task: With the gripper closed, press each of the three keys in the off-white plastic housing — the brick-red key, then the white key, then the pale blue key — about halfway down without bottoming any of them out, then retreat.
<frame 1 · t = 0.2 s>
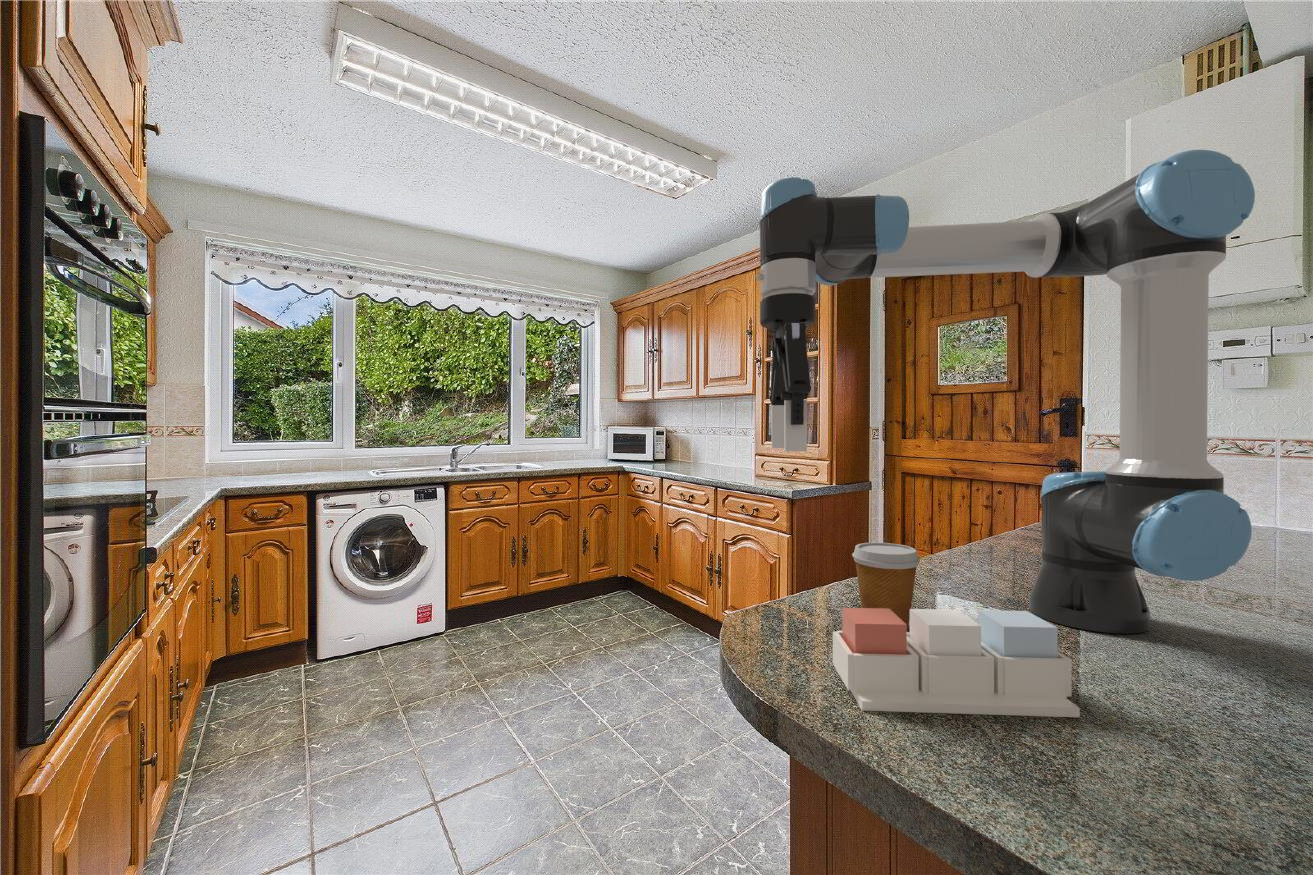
hand: (787, 449, 77), 27 cm above the countertop, fingers open, 13 cm apart
pale blue key: (1015, 635, 63), point 6 cm above the countertop, slide at 0.0 cm
brick-red key: (873, 632, 64), point 6 cm above the countertop, slide at 0.0 cm
disposable coffee cup: (885, 627, 84), on the countertop
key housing: (943, 687, 64), on the countertop
white key: (943, 634, 64), point 6 cm above the countertop, slide at 0.0 cm
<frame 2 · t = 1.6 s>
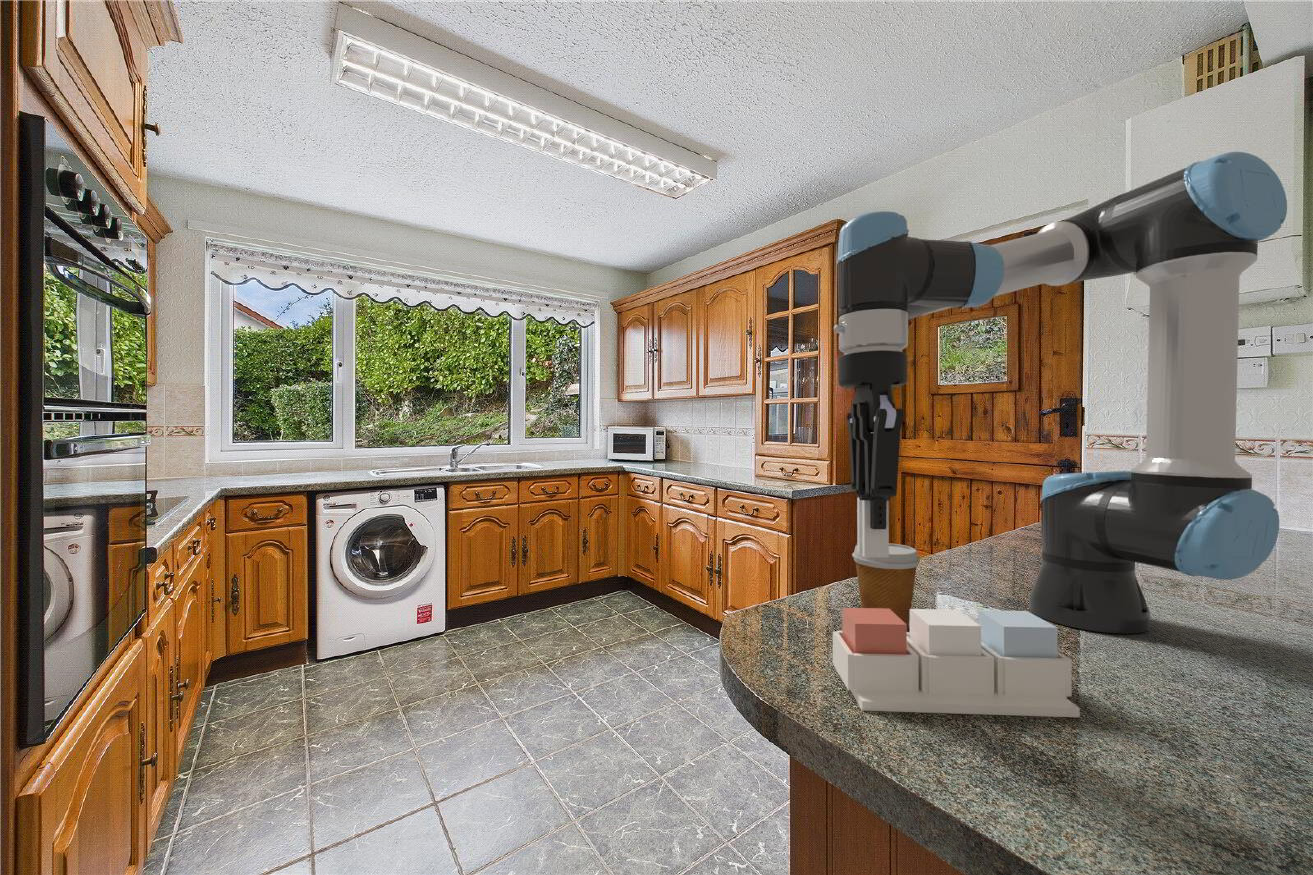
hand: (872, 554, 64), 15 cm above the countertop, fingers closed
nothing on the countertop moved.
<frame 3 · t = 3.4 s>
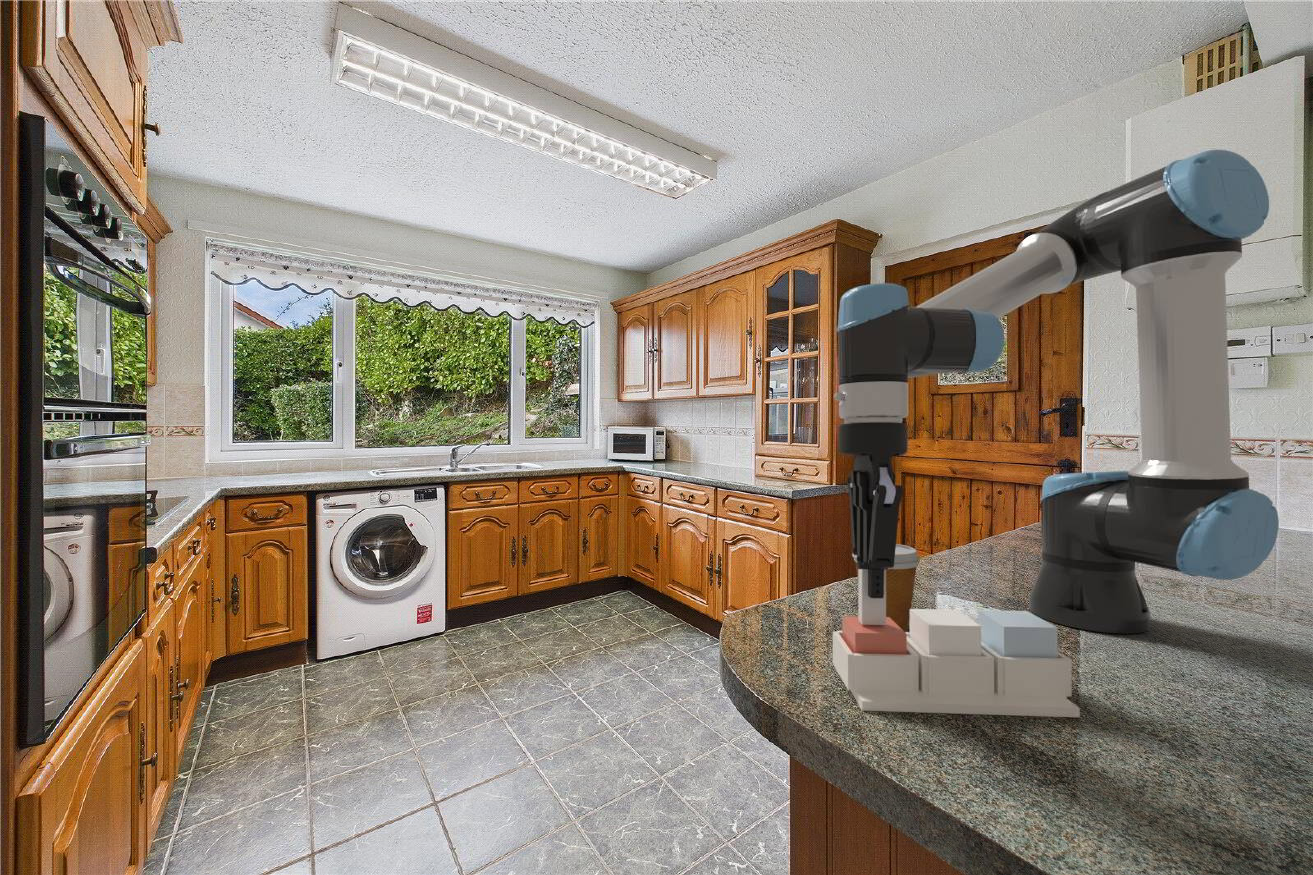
hand: (872, 622, 64), 7 cm above the countertop, fingers closed
brick-red key: (873, 641, 64), point 5 cm above the countertop, slide at 1.0 cm
everything else where it was.
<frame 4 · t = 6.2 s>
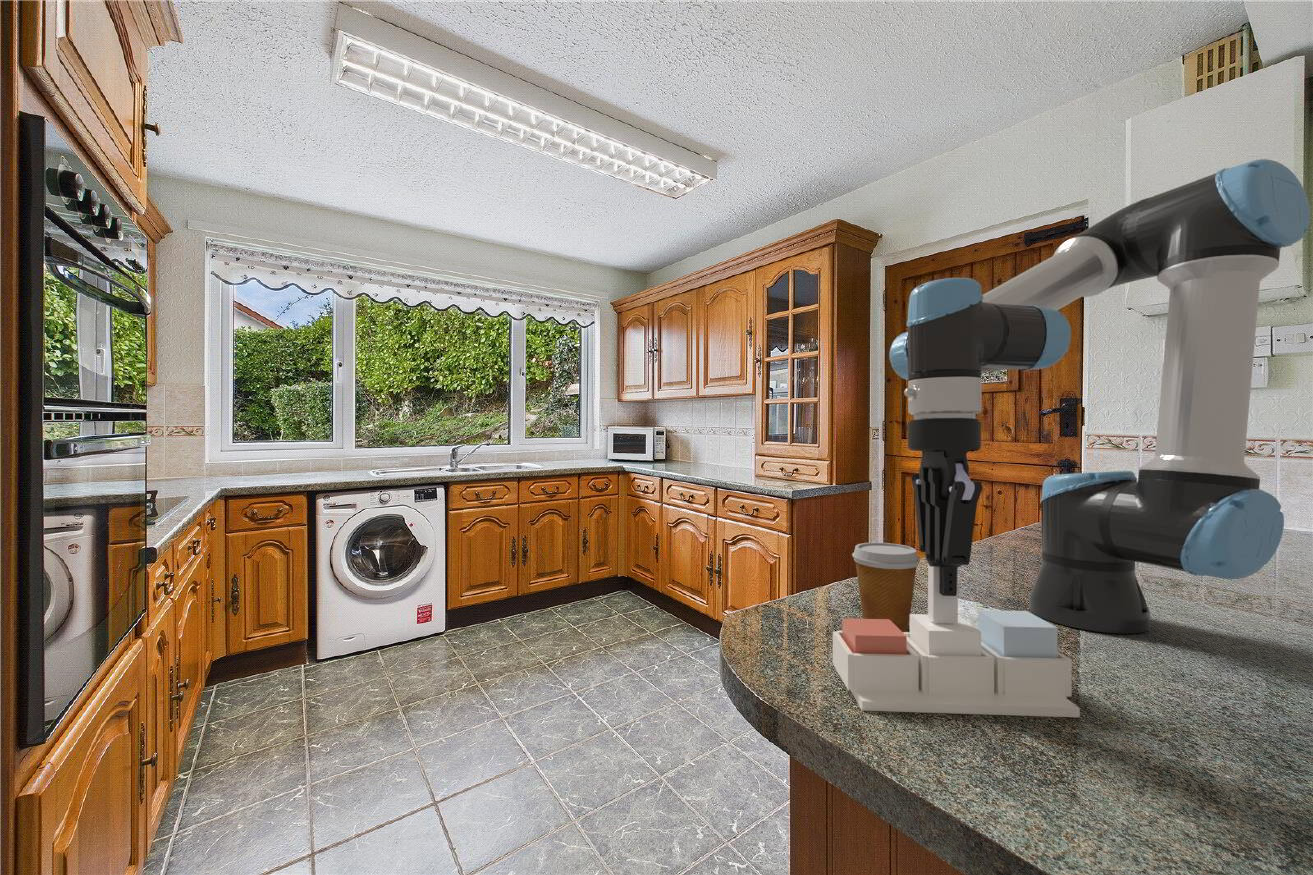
hand: (942, 620, 64), 8 cm above the countertop, fingers closed
white key: (943, 639, 64), point 6 cm above the countertop, slide at 0.6 cm, touching gripper
everything else where it was.
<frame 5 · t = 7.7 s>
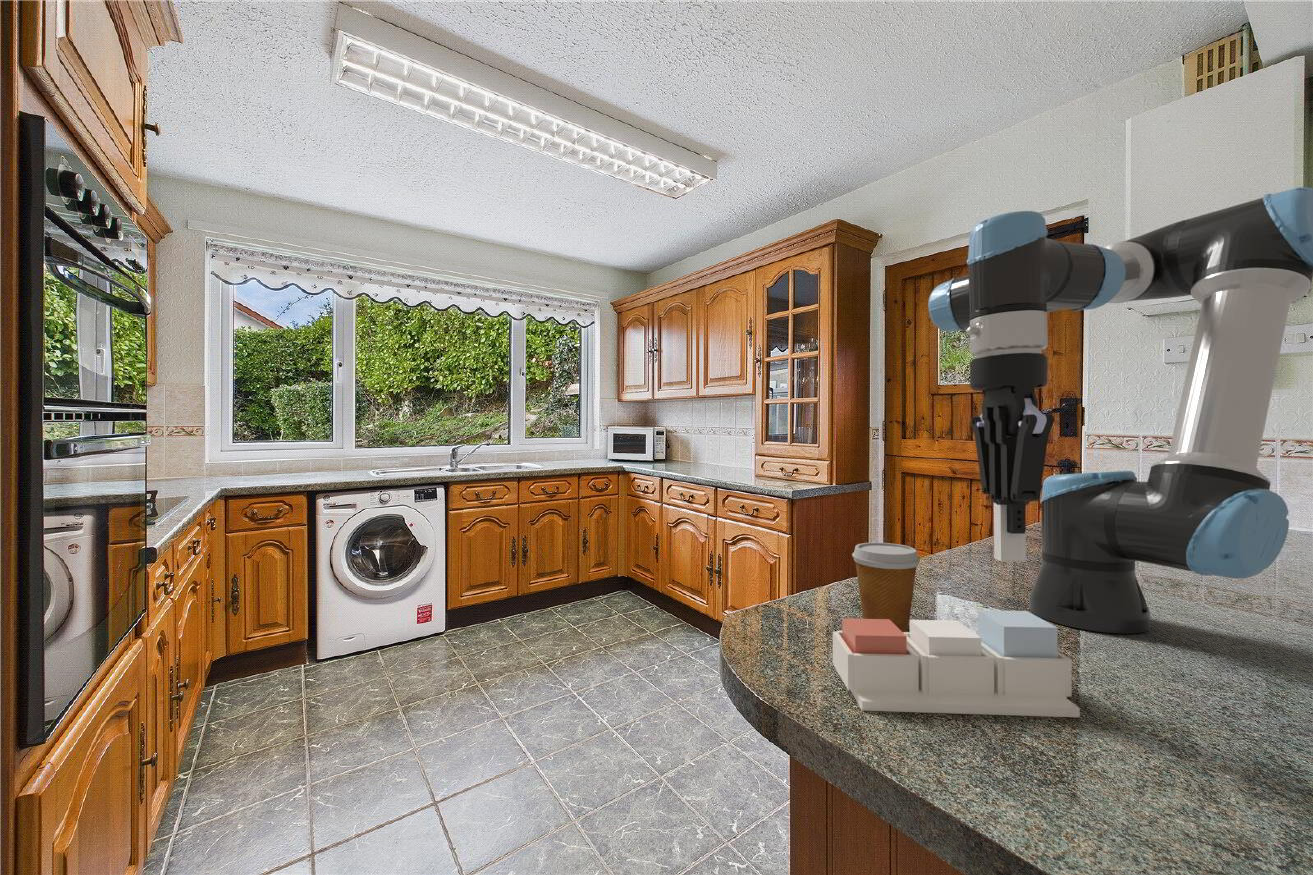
hand: (1010, 559, 63), 15 cm above the countertop, fingers closed
white key: (943, 645, 64), point 5 cm above the countertop, slide at 1.3 cm
everything else where it was.
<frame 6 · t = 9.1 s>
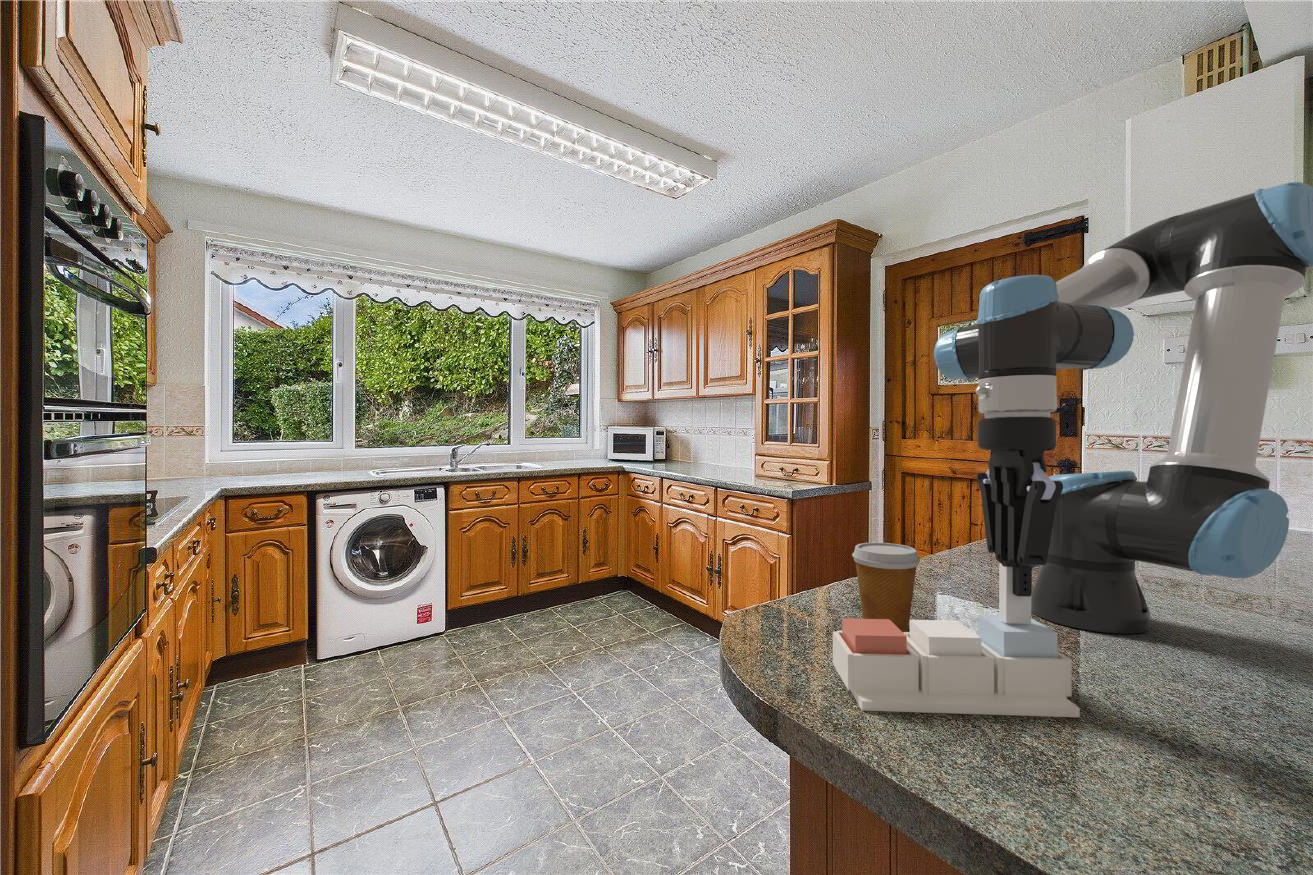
hand: (1014, 621, 63), 8 cm above the countertop, fingers closed
pale blue key: (1015, 640, 63), point 6 cm above the countertop, slide at 0.6 cm, touching gripper
everything else where it was.
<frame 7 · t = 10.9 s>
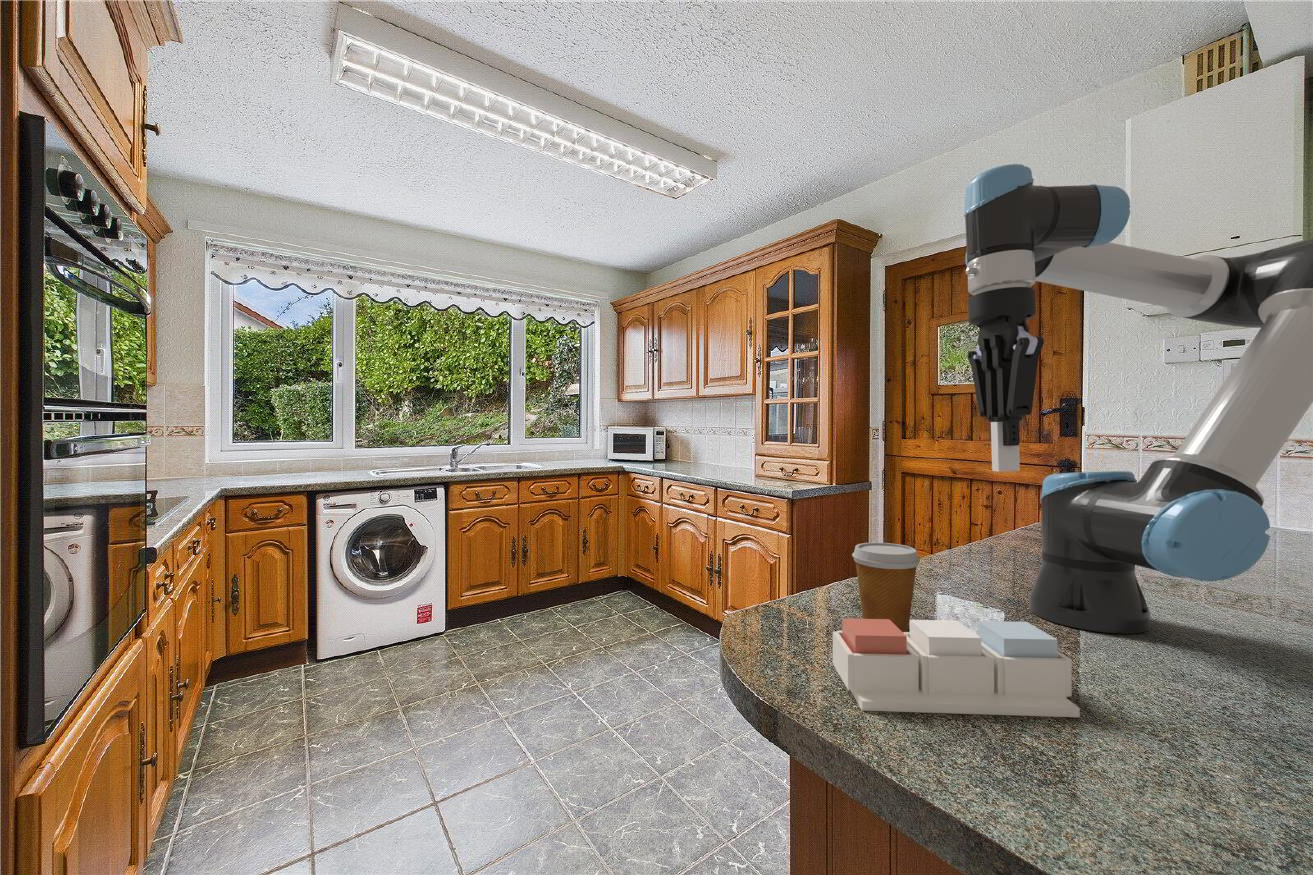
hand: (1005, 470, 72), 24 cm above the countertop, fingers closed
pale blue key: (1015, 647, 63), point 5 cm above the countertop, slide at 1.3 cm
everything else where it was.
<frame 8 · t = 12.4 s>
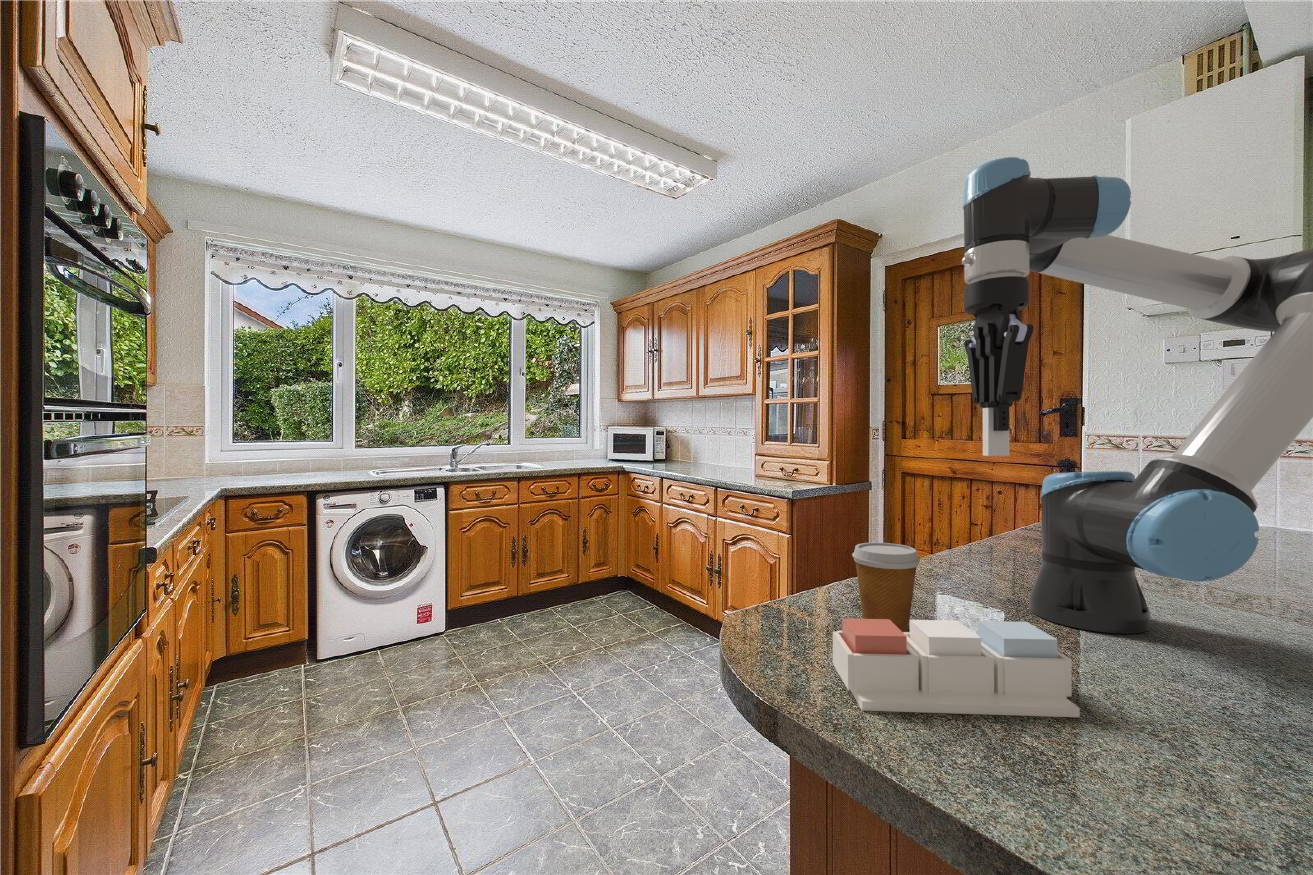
hand: (995, 455, 74), 26 cm above the countertop, fingers closed
nothing on the countertop moved.
at the end: brick-red key slide at 1.3 cm; white key slide at 1.3 cm; pale blue key slide at 1.3 cm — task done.
